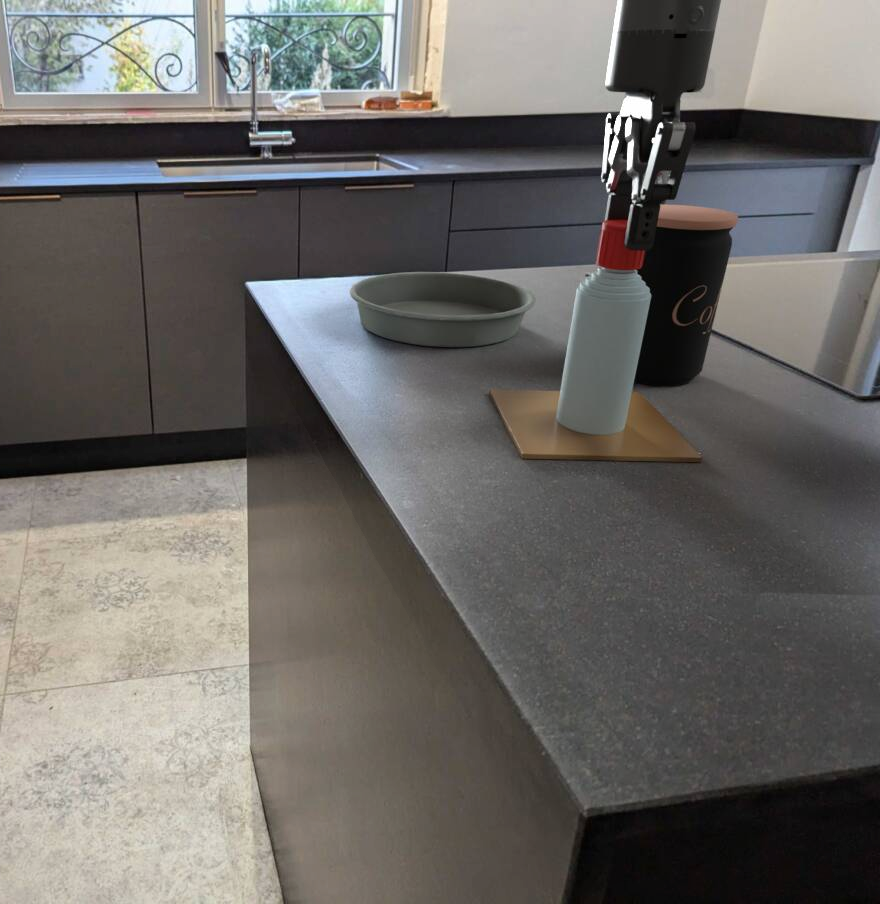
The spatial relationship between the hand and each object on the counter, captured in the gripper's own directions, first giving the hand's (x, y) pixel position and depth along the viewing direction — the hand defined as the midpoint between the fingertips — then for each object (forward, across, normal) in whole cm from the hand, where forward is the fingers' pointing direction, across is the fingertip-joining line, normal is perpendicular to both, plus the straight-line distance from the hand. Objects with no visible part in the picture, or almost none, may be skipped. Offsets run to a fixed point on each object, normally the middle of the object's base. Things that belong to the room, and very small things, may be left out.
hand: (626, 242), depth 73 cm
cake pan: (+18, -35, -10) cm, 41 cm away
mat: (+18, -1, 0) cm, 18 cm away
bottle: (+18, -1, 0) cm, 18 cm away
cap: (+2, -1, 0) cm, 2 cm away
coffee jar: (+18, -17, +12) cm, 28 cm away
